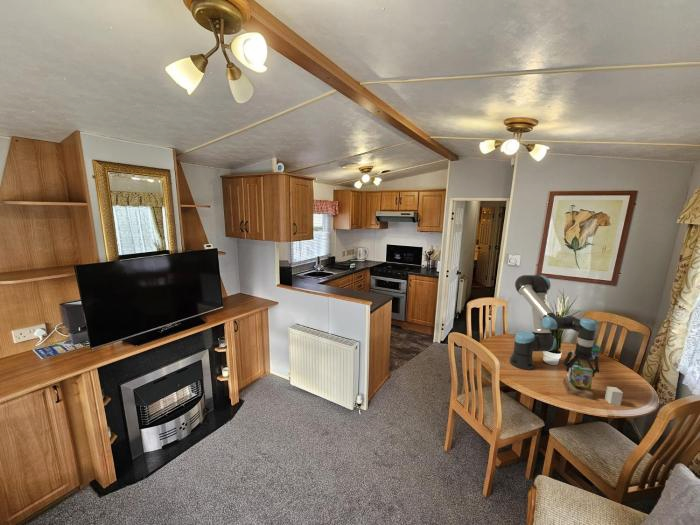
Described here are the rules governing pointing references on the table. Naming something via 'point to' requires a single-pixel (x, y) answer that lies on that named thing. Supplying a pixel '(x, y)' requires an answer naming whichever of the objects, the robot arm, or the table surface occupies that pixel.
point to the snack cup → (595, 351)
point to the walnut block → (577, 390)
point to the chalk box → (581, 375)
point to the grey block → (613, 395)
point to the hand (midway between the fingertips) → (578, 379)
